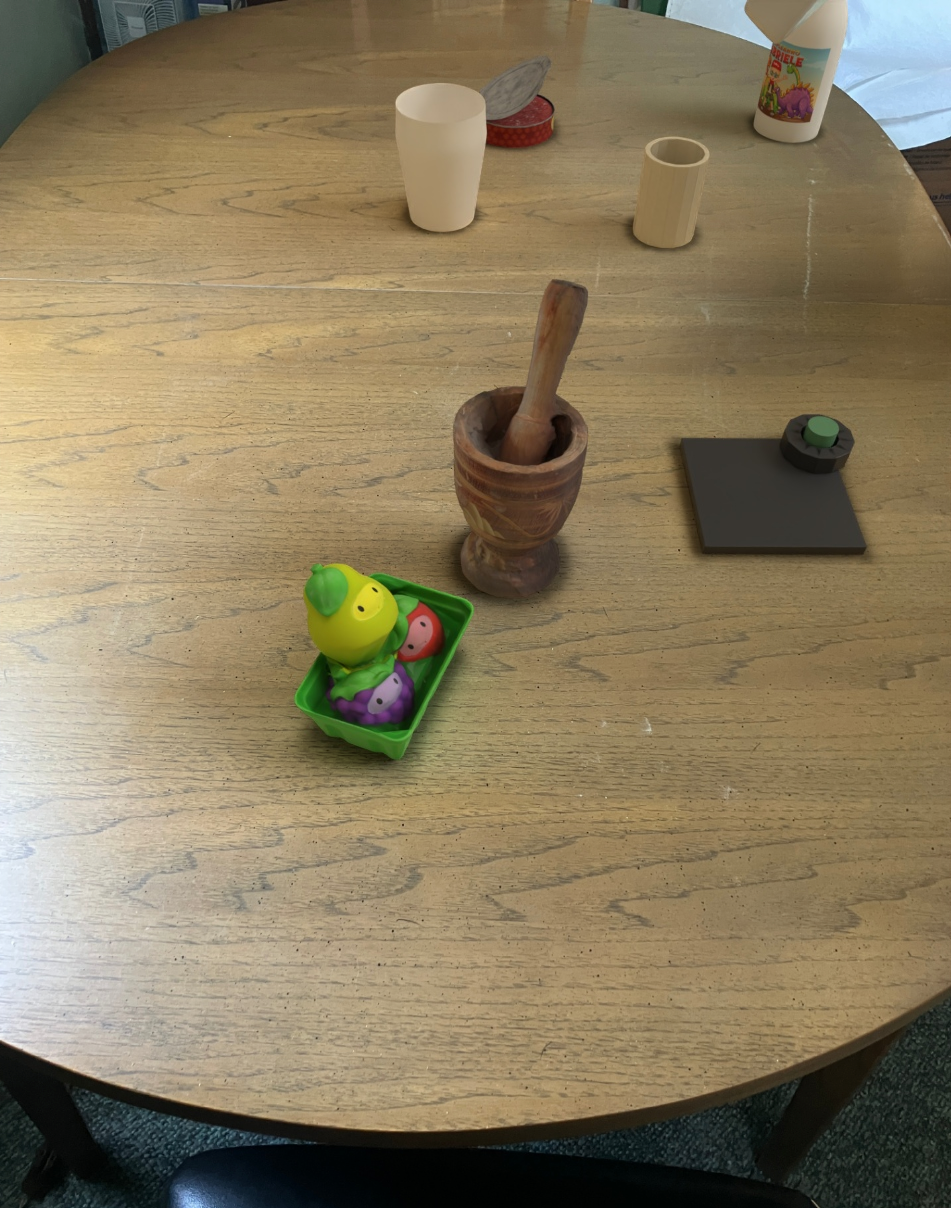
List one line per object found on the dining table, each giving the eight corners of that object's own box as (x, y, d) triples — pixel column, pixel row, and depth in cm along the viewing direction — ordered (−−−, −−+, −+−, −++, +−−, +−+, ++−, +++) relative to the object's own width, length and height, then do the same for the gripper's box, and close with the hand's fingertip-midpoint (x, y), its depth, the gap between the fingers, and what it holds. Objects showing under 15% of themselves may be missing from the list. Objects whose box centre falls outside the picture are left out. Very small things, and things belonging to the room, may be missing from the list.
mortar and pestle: (462, 490, 75) (464, 259, 59) (572, 498, 74) (602, 268, 59) (447, 603, 68) (445, 374, 52) (568, 612, 67) (602, 385, 52)
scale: (833, 442, 79) (844, 414, 77) (876, 559, 71) (890, 532, 68) (676, 441, 79) (682, 412, 77) (701, 559, 71) (709, 531, 68)
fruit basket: (409, 787, 58) (400, 684, 50) (282, 740, 60) (252, 633, 52) (477, 649, 65) (480, 536, 56) (361, 611, 67) (346, 496, 58)
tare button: (829, 429, 76) (835, 416, 75) (837, 449, 75) (842, 436, 74) (800, 429, 76) (804, 415, 75) (806, 449, 75) (811, 436, 74)
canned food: (530, 190, 114) (521, 133, 104) (459, 159, 116) (445, 100, 107) (577, 115, 115) (573, 51, 105) (506, 85, 117) (496, 21, 108)
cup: (385, 210, 102) (378, 92, 92) (461, 191, 104) (461, 75, 95) (421, 251, 97) (418, 131, 87) (499, 230, 99) (504, 112, 90)
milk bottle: (779, 112, 118) (827, -79, 102) (830, 135, 114) (888, -60, 99) (738, 130, 115) (782, -65, 99) (789, 154, 111) (843, -44, 95)
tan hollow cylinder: (687, 222, 101) (704, 136, 94) (696, 253, 97) (714, 167, 90) (629, 221, 101) (641, 136, 94) (635, 253, 97) (649, 166, 90)
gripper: (886, -50, 56) (740, 119, 68) (1004, -158, 65) (857, 9, 77) (813, -132, 55) (679, 54, 67) (943, -229, 64) (804, -50, 77)
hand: (775, 29), depth 72 cm, fingers closed
